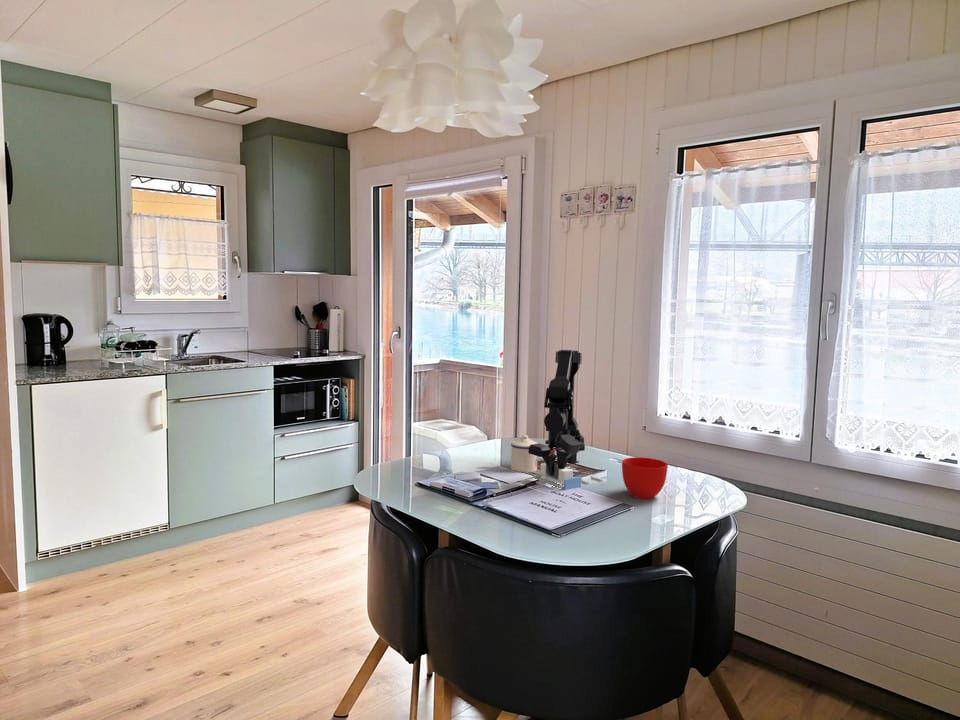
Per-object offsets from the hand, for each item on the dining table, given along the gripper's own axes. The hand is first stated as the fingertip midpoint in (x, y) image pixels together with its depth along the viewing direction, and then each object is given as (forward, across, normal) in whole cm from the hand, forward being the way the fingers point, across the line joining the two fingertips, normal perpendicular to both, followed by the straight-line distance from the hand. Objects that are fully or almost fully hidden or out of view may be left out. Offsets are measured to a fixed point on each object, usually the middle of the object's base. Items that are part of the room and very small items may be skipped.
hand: (556, 474), depth 210 cm
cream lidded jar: (+3, +2, +19) cm, 19 cm away
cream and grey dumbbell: (+1, 0, 0) cm, 1 cm away
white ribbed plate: (+3, +5, 0) cm, 6 cm away
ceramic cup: (+3, +15, -22) cm, 27 cm away
